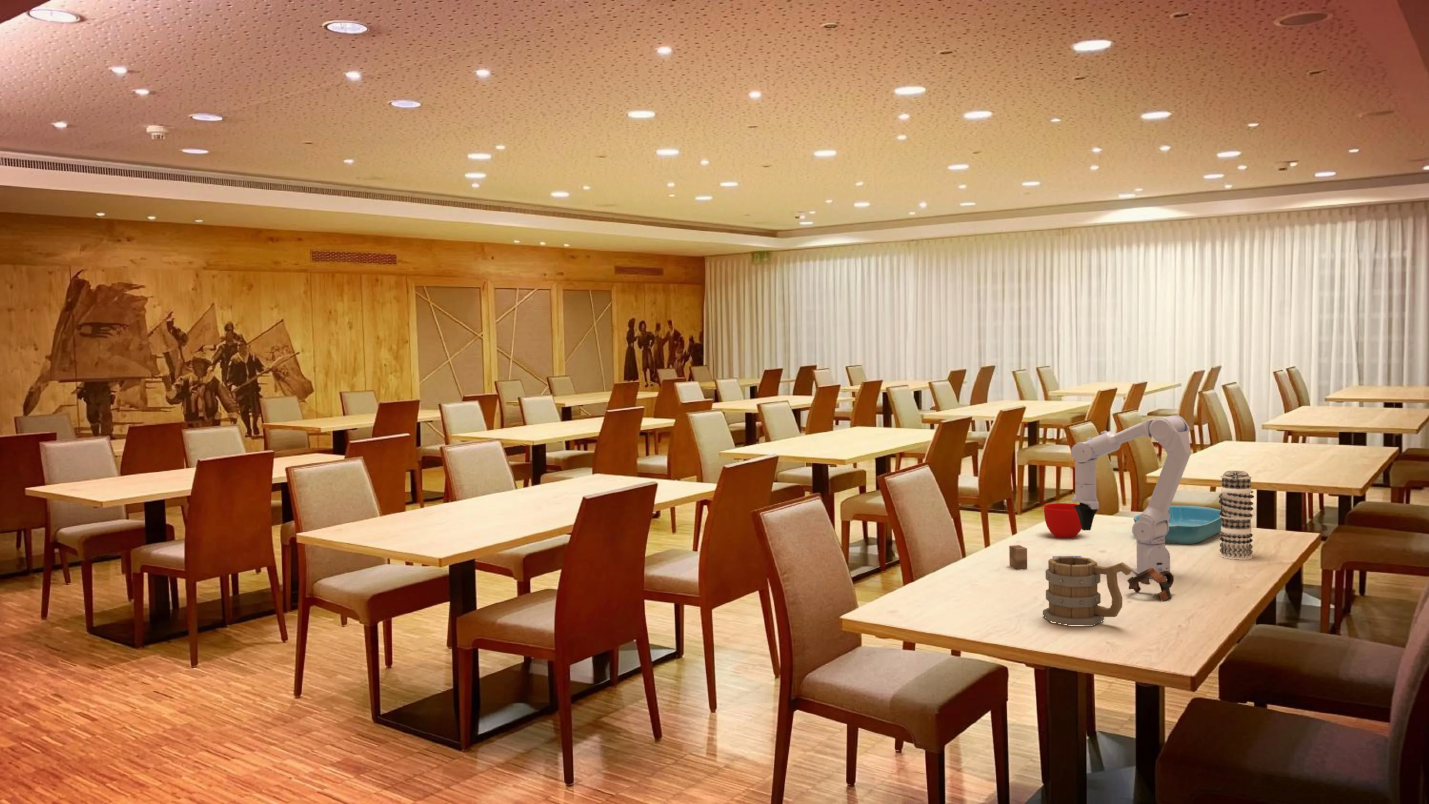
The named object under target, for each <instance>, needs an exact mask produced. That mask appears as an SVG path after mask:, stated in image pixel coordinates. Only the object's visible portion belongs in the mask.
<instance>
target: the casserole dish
mask: <svg viewBox="0 0 1429 804" xmlns="http://www.w3.org/2000/svg"><path fill="white" fill-rule="evenodd" d="M1220 511H1221V510H1220V509H1218V508H1212V507H1207V506H1199V505H1198V506H1197V505H1171V506H1170V508H1169V511H1168V513H1169V515H1170V519H1169V531H1168V533H1167V534H1166V535H1165V543H1167V542H1170V543H1169V544H1176V543H1178V544H1179V545H1194V544H1198V543H1201V542H1203V541H1206V540H1208V539H1210V538H1211V537H1214V536H1215V535H1217V534H1218V533H1220V532H1222V531H1221V526H1222V518H1221V517H1220V515H1219V513H1220ZM1141 514H1142V513H1139V514H1137V515H1135V516H1134V517H1133V521H1134V523H1135V522H1136V521H1137V520H1139V518H1140V516H1141ZM1178 544H1177V545H1178Z"/></svg>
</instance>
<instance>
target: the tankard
mask: <svg viewBox="0 0 1429 804" xmlns="http://www.w3.org/2000/svg"><path fill="white" fill-rule="evenodd" d="M1062 556H1063V557H1055V558H1053V557H1052V558H1050V559H1048V560H1047V561H1048V563H1047V564H1048V565H1047V566H1048V568H1047V569H1045V580H1046V581H1048V589H1046V590H1045V600H1046V601H1047V602H1048V608H1044V609H1043V610H1042V616H1043V615H1044V616H1045V617H1046V618H1047V619H1048V620H1049V621H1052V622H1056V623H1061V624H1067V625H1094V624H1097V623H1099V622H1101V621H1103V620H1104V621H1105V618H1116V617H1118V615H1119V614H1120V612H1121V610H1122V608H1123V596H1122V593H1121V591H1120V587H1119V583H1118V582H1119V581H1118V576H1117V575H1118V573H1120V572H1121V573H1123V574H1124V575H1125V576H1129V575H1130V574H1131V573H1132V572H1133V571H1132V569H1133V568H1132V567H1130V566H1129V565H1127V564H1126V563H1124V562H1123V561H1122V562H1120V563H1117V564H1113V565H1110V566H1102V565H1098V562H1097V561H1095V560H1094V559H1092V558H1090V557H1089V558H1088V557H1083V556H1081V557H1077V556H1078V555H1062ZM1074 556H1075V557H1074ZM1101 575H1105V576H1106V585H1107V589H1108V591H1109V593H1110V597H1111V605H1110V607H1105V606H1101V605H1100V604H1101V601H1102V600H1101V598H1102V597H1101V595H1102V594H1101V593H1100V592H1098V584H1101ZM1046 618H1045V619H1046ZM1047 619H1046V620H1047ZM1048 620H1047V621H1048ZM1049 621H1048V622H1049ZM1104 621H1103V622H1104ZM1101 623H1102V622H1101ZM1099 624H1100V623H1099ZM1097 625H1098V624H1097Z"/></svg>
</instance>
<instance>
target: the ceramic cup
mask: <svg viewBox="0 0 1429 804" xmlns="http://www.w3.org/2000/svg"><path fill="white" fill-rule="evenodd" d="M1079 504H1080V503H1079ZM1079 504H1078V503H1070V502H1069V503H1067V502H1063V503H1062V502H1061V503H1060V502H1058V503H1057V502H1056V503H1055V502H1054V503H1048V504H1044V505H1043V514H1044V515H1043V516H1044V521H1045V525H1046V526H1047V529H1048V531H1049V532H1050V533H1051V534H1052V535H1053V536H1055V538H1056V537H1058V538H1057V539H1063V538H1070V539H1074V538H1076V537H1077V536H1078V535H1079V533H1080V532H1082V528H1081V524H1080V520H1079V517H1078V514H1077V511H1076V510H1075V508H1074V505H1079Z"/></svg>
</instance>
